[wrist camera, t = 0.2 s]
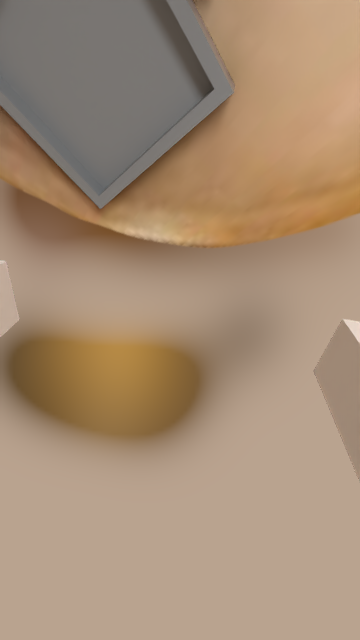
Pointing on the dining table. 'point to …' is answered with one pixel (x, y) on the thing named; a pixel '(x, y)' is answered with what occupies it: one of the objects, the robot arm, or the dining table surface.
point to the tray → (108, 82)
